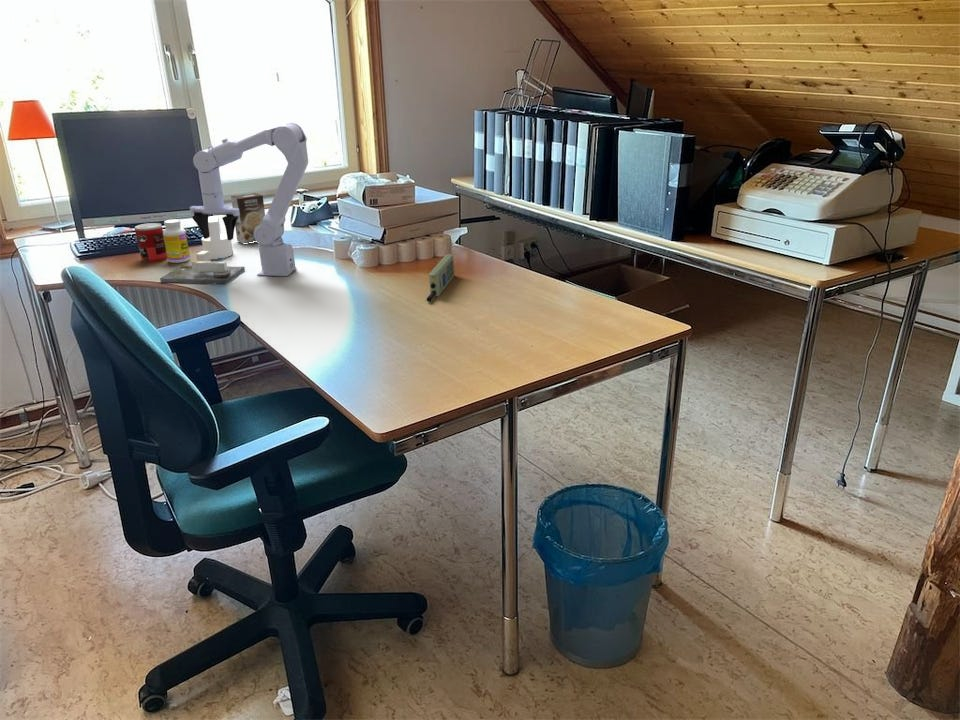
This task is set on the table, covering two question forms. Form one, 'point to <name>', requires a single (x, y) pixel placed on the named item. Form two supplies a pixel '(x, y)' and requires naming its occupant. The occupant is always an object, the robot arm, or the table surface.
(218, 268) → the selector lever
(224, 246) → the base with upright slab
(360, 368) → the table surface
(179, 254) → the supplement bottle
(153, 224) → the canned food
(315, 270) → the table surface
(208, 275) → the console plate
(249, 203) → the coffee box
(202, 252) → the cap
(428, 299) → the handheld radio
